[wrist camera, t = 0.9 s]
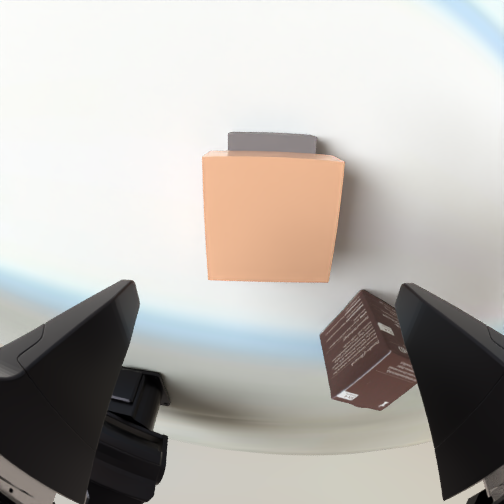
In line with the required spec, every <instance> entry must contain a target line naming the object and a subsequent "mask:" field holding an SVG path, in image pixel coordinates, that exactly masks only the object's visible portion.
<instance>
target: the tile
mask: <svg viewBox="0 0 504 504" xmlns="http://www.w3.org/2000/svg"><path fill="white" fill-rule="evenodd" d="M344 166H345V162H344V161H342V160H340V159H338V158H336V157H335V156H333V155H323V154H311V153H296V152H275V151H210V152H208V153H207V154H205V155H204V156H203V157H202V168H203V198H204V220H205V238H206V254H207V269H208V280H221V281H256V282H324V283H328V282H329V276H330V270H331V265H332V259H333V253H334V246H335V240H336V233H337V226H338V219H339V211H340V203H341V195H342V186H343V177H344Z"/></svg>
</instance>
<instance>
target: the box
mask: <svg viewBox="0 0 504 504" xmlns="http://www.w3.org/2000/svg"><path fill="white" fill-rule="evenodd" d="M320 340H321V345H322V350H323V355H324V360H325V365H326V370H327V375H328V381H329V386H330V390H331V398H332V399H333V400H337V401H341V402H345V403H349V404H352V405H354V406H356V407H361V408H370V409H375V410H379V411H381V410H383V409H384V408H386V407H387V406H388V405H390V404H391V403H392V402H394V401H395V400H396V399H398V398H399V397H400V396H401V395H403V394H404V393H405V392H407V391H408V390H409V389H410V388H412V387H413V386H414V385H415V384H417V380H416V377H415V374H414V371H413V368H412V365H411V362H410V359H409V356H408V353H407V350H406V347H405V344H404V340H403V337H402V333H401V329H400V325H399V321H398V317H397V314H396V310H395V308H394V307H392V306H390V305H389V304H387V303H386V302H384V301H382V300H381V299H379V298H377V297H375V296H374V295H372V294H370V293H368V292H367V291H365V290H360V291H359V292H358V293H357V294H356V295H355V297H354V298H353V299H352V300H351V301H350V302H349V304H348V305H347V306H346V307H345V308H344V310H342V311H341V313H340V314H339V315H338V316H337V317H336V318H335V319H334V320H333V321H332V322H331V323H330V324H329V325H328V326H327V327H326V328H325V329H324V330H323V331H322V332H321V334H320Z"/></svg>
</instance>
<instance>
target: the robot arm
mask: <svg viewBox="0 0 504 504" xmlns="http://www.w3.org/2000/svg"><path fill="white" fill-rule="evenodd" d="M139 306H140V302H139V297H138V293H137V289H136V285H135V282H134V281H133V280H121V281H119V282H117V283H115V284H113V285H111V286H110V287H108V288H106V289H104V290H102V291H101V292H99V293H97V294H95V295H93V296H92V297H90V298H88V299H86V300H84V301H83V302H81V303H79V304H77V305H76V306H74V307H72V308H70V309H68V310H67V311H65V312H63V313H62V314H60V315H58V316H56V317H55V318H53V319H51V320H49V321H48V322H46V323H45V324H43V325H41V326H39V327H37V328H36V329H34V330H32V331H31V332H29V333H27V334H25V335H23V336H22V337H20V338H18V339H16V340H14V341H12V342H10V343H8V344H6V345H4V346H3V347H1V348H0V504H55V502H53V501H54V498H55V494H56V493H58V494H60V495H62V496H64V497H66V498H68V499H70V500H72V501H74V502H76V503H79V504H143V503H144V502H148V501H149V500H150V499H151V498H152V497H153V496H154V491H155V485H158V484H159V483H160V481H161V479H162V477H163V475H164V471H165V467H166V456H167V442H168V436H166V435H164V434H163V435H161V434H159V433H156V432H154V431H153V428H154V425H155V421H156V417H157V413H158V410H159V406H160V405H165V406H169V405H170V400H169V397H168V394H167V392H166V389H165V386H164V384H163V381H162V378H161V376H160V374H158V373H155V372H148V371H141V370H135V369H129V368H124V367H122V364H123V361H124V358H125V356H126V353H127V350H128V347H129V344H130V341H131V337H132V333H133V329H134V325H135V321H136V318H137V314H138V310H139ZM395 310H396V314H397V317H398V321H399V325H400V329H401V333H402V337H403V340H404V344H405V347H406V350H407V353H408V356H409V359H410V362H411V365H412V368H413V371H414V374H415V377H416V380H417V384H418V387H419V390H420V394H421V397H422V400H423V404H424V408H425V411H426V415H427V419H428V423H429V427H430V431H431V435H432V440H433V444H434V448H435V454H436V459H437V465H438V470H439V475H440V482H441V488H442V497H443V500H444V501H445V500H447V499H449V498H451V497H453V496H455V495H457V494H459V493H461V492H463V491H465V490H467V489H468V488H470V487H472V486H474V485H475V484H477V483H479V482H481V481H482V480H483V482H484V485H485V489H484V490H482V491H481V492H479V493H477V494H476V495H474V496H472V497H471V498H469V499H468V501H467V503H466V504H504V335H502V334H500V333H499V332H497V331H495V330H494V329H492V328H491V327H489V326H486V324H484V323H482V322H481V321H479V320H477V319H476V318H474V317H472V316H470V315H469V314H467V313H465V312H464V311H462V310H460V309H459V308H457V307H455V306H453V305H452V304H450V303H448V302H446V301H445V300H443V299H441V298H439V297H437V296H436V295H434V294H432V293H430V292H429V291H427V290H425V289H423V288H421V287H419V286H418V285H416V284H414V283H404V284H402V285H401V288H400V291H399V294H398V297H397V300H396V303H395Z"/></svg>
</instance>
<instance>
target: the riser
mask: <svg viewBox="0 0 504 504" xmlns="http://www.w3.org/2000/svg"><path fill="white" fill-rule="evenodd" d="M316 142H317V137H315V136H312V135H304V134H289V133H267V132H230V133H228V151H275V152H296V153H311V154H316Z"/></svg>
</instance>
